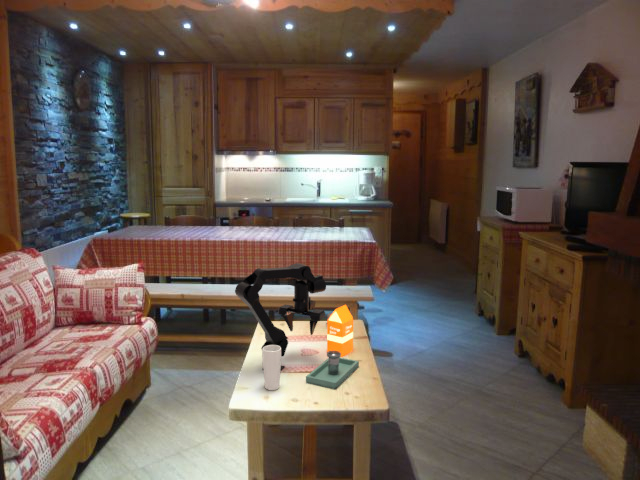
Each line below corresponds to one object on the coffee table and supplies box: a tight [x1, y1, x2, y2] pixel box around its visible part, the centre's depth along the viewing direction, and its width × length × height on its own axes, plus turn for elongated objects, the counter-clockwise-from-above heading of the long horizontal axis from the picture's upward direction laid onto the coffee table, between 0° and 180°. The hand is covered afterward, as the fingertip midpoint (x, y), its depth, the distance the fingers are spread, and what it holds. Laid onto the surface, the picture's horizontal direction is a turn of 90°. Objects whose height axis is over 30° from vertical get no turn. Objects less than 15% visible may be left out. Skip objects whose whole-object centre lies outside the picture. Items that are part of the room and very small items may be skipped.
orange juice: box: [326, 304, 354, 358], centre depth 217 cm, size 8×9×20 cm
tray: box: [305, 357, 360, 390], centre depth 196 cm, size 22×12×2 cm, turn 154°
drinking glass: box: [261, 345, 282, 391], centre depth 184 cm, size 7×7×15 cm
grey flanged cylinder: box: [326, 351, 342, 375], centre depth 195 cm, size 5×5×8 cm
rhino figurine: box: [325, 312, 332, 321], centre depth 249 cm, size 4×14×6 cm, turn 7°
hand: (301, 332), depth 207 cm, fingers open, 9 cm apart
